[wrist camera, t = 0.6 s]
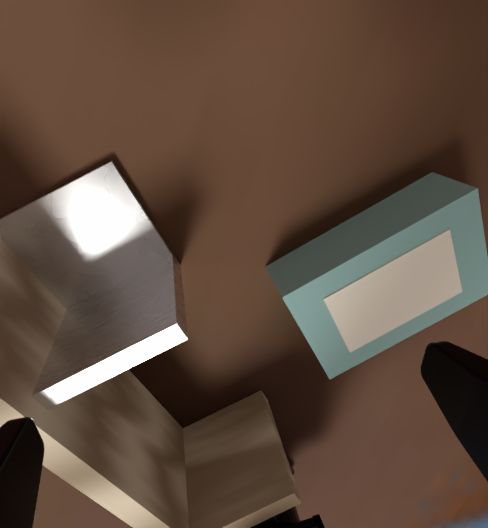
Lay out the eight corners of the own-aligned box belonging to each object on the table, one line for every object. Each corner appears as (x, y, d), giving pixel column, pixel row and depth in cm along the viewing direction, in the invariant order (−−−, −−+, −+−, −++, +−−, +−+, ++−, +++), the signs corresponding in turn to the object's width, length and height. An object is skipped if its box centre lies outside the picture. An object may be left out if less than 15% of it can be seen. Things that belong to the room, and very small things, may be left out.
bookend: (180, 264, 21) (188, 339, 15) (79, 316, 22) (47, 409, 16) (112, 159, 18) (87, 202, 12) (-8, 222, 18) (-93, 295, 12)
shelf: (268, 400, 29) (302, 503, 22) (176, 445, 29) (181, 561, 22) (106, 150, 18) (71, 198, 11) (-40, 226, 18) (-166, 321, 11)
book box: (448, 263, 26) (493, 292, 23) (308, 340, 27) (330, 380, 23) (428, 170, 22) (479, 188, 19) (263, 264, 23) (282, 298, 19)
